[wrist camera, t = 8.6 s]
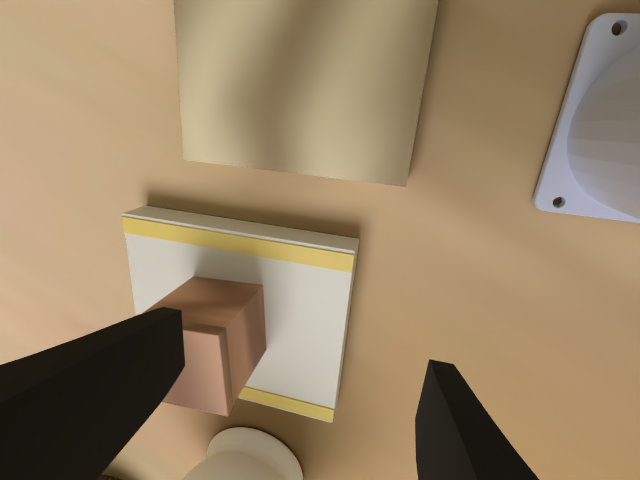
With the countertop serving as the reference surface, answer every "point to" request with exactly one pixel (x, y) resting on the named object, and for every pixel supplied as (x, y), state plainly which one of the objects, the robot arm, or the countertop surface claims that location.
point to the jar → (246, 458)
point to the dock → (278, 288)
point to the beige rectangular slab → (304, 84)
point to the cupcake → (107, 478)
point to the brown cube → (216, 341)
